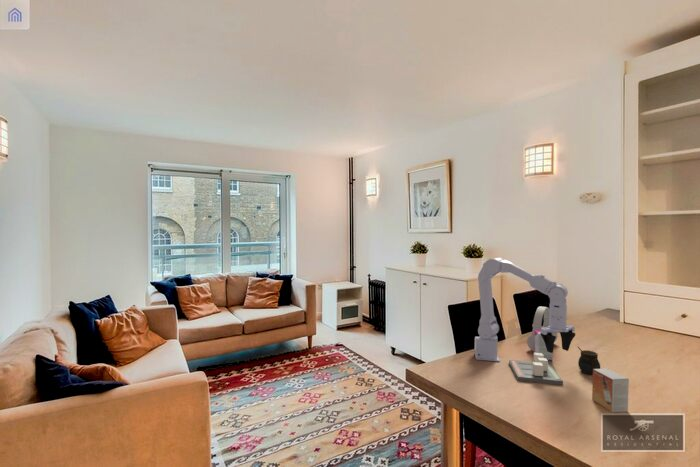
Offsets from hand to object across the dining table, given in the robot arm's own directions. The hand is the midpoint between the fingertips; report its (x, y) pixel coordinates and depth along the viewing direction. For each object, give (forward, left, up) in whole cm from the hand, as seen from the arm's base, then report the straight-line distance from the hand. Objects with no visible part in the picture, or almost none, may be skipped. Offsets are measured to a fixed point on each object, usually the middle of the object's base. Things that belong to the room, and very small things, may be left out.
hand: (557, 350), depth 135 cm
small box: (+8, -23, -9) cm, 26 cm away
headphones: (+3, +32, -9) cm, 33 cm away
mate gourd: (+12, +4, -9) cm, 16 cm away
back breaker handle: (-6, +4, -7) cm, 10 cm away
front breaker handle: (-9, -7, -7) cm, 13 cm away
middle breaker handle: (-6, -2, -7) cm, 9 cm away
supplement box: (-1, +16, -9) cm, 19 cm away
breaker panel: (-9, -2, -9) cm, 13 cm away
